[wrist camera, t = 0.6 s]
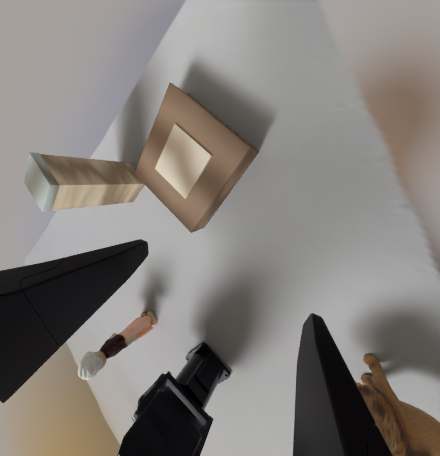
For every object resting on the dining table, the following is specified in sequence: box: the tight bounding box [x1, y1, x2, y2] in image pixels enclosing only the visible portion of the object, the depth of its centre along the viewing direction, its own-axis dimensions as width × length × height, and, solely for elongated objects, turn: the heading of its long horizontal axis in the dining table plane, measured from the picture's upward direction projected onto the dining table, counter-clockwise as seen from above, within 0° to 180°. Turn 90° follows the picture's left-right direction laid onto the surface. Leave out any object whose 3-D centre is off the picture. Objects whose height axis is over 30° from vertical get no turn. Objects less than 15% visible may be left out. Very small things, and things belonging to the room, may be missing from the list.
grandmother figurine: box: [78, 311, 157, 380], centre depth 31 cm, size 8×4×13 cm, turn 128°
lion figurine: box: [355, 355, 440, 456], centre depth 15 cm, size 15×5×9 cm, turn 91°
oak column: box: [24, 153, 145, 212], centre depth 26 cm, size 5×5×12 cm
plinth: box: [134, 83, 258, 233], centre depth 23 cm, size 12×12×3 cm
